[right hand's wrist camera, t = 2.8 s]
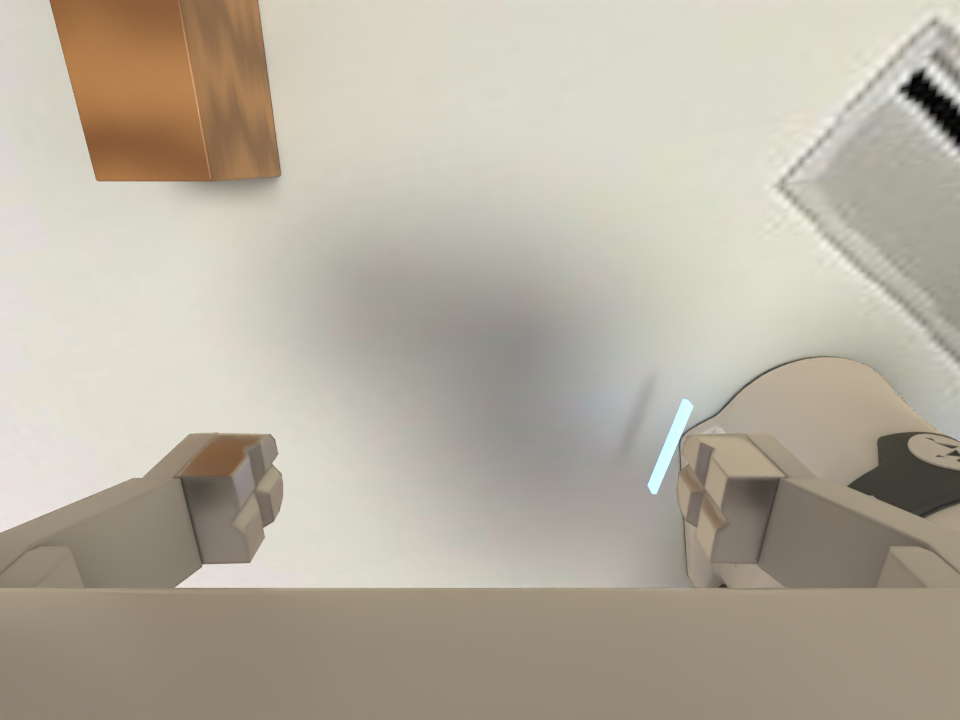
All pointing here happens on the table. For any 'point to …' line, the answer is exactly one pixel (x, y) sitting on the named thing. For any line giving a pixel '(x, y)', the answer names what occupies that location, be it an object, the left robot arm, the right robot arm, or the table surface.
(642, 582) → the table surface
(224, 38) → the bar
